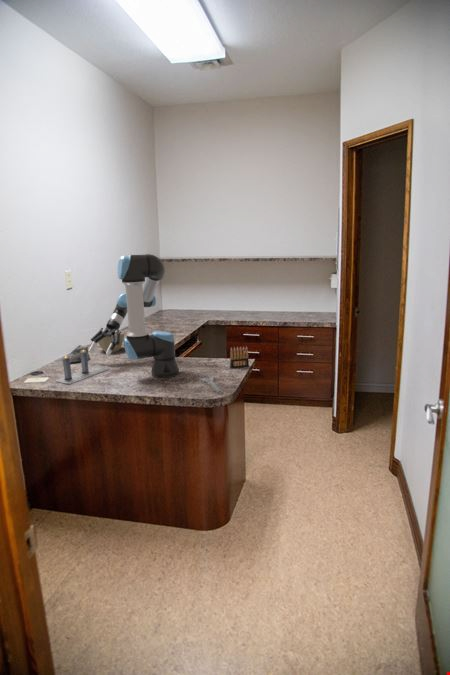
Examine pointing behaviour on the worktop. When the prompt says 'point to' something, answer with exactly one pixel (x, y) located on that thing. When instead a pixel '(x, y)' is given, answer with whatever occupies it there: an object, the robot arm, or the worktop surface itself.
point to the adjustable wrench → (212, 384)
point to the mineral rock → (78, 354)
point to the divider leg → (84, 361)
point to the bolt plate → (79, 375)
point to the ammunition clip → (239, 358)
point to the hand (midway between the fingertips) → (98, 353)
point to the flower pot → (107, 341)
